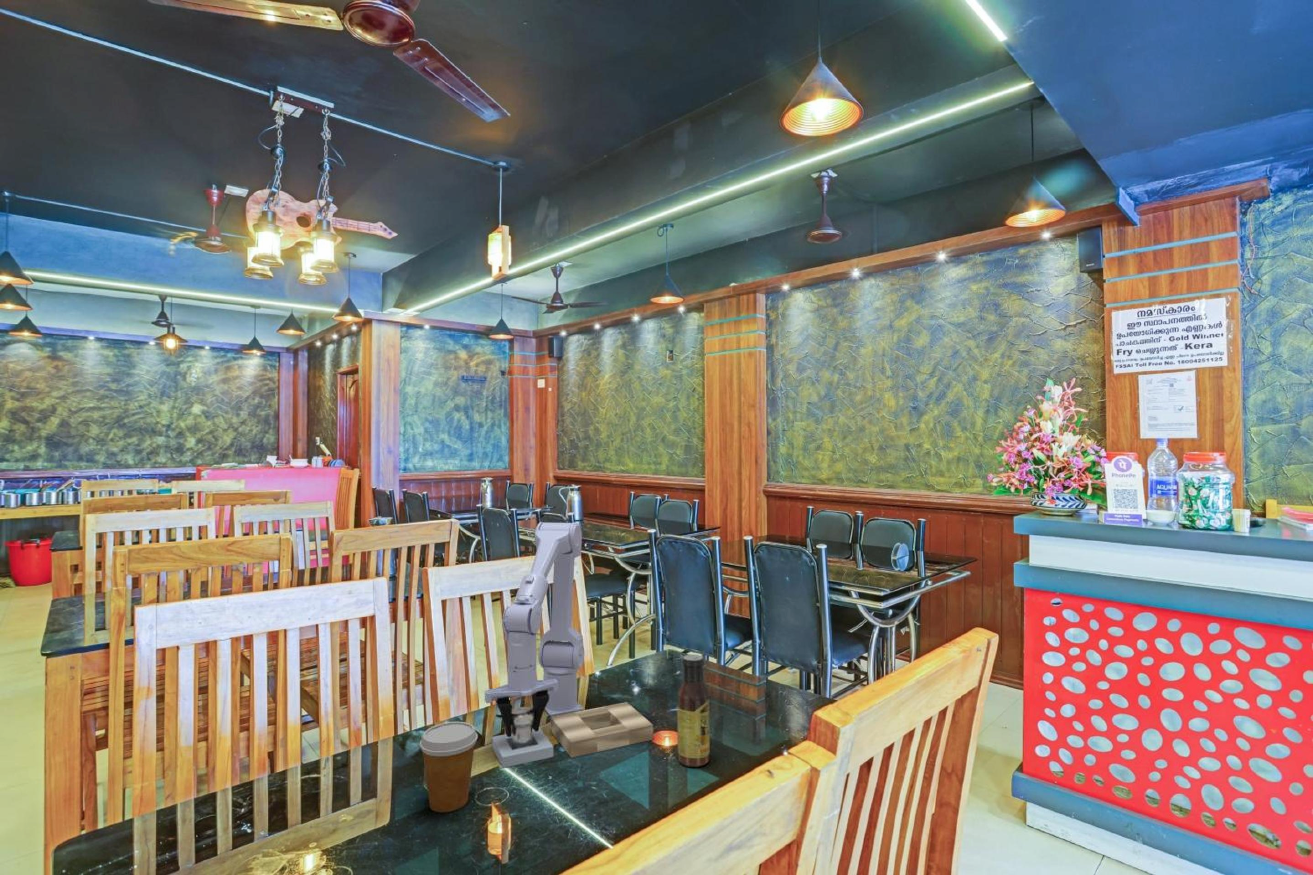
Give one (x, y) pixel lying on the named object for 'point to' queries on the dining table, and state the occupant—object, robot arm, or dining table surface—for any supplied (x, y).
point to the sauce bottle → (693, 715)
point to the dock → (600, 729)
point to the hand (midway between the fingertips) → (522, 731)
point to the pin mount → (522, 749)
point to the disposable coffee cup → (448, 764)
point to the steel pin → (522, 727)
